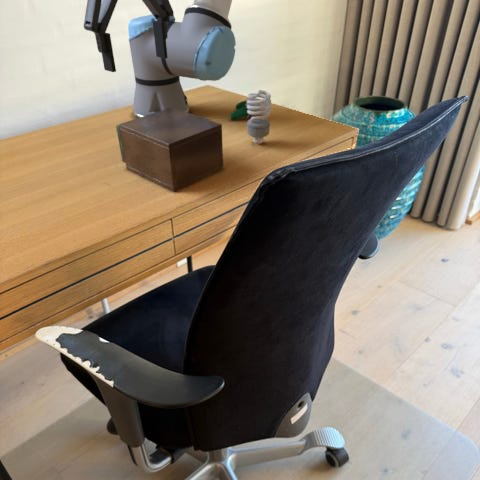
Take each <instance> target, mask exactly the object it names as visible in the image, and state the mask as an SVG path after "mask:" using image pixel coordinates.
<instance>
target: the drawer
mask: <svg viewBox="0 0 480 480" xmlns="http://www.w3.org/2000/svg"><path fill="white" fill-rule="evenodd" d="M115 128H116V129H115V130H116V134H117V139H118V144H119V150H120V156H121V161H122V163H124V164H126V161H125V155H124V150H123V144H122V138H121V133H120V127H119V124H116V125H115Z"/></svg>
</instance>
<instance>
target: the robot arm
mask: <svg viewBox="0 0 480 480" xmlns="http://www.w3.org/2000/svg"><path fill="white" fill-rule="evenodd" d="M118 1H119V0H87V3H86V8H85V14H84V21H83V29H84V30H85V31H89V32H91V33H93V34H94V36H95V41H96V47H97V50H98V52H99V53H101V58H102V62H103V69H104V71H106V72H111V73H115V72H117V69H116V62H115V56H114V51H113V45H112V39H111V33H109V32H107V29H108V28H109V24H110V22H111V19H112V17H113V14H114V11H115V9H116V6H117V4H118ZM232 2H233V0H193V3H192V4H191V5H189V6H187V7H186V8H185V10H184V15H183V17H182V20H181V21H176V17H175V15H174V14H175V13H174V9H173V7H172V5H171V2H170V0H142V3H143V4H144V5H145V7H146V8H147V9H148V10H149V12H150V14H148V15H143V16H138V17H135V18H132V19H130V21H129V22H128V25H127V30H128V31H127V32H128V42H129V48H130V54H131V61H132V67H133V74H134V75H133V76H134V81H135V89H134V95H133V104H132V114H133V118H134V119H137V118H140V117H143V116H146V115H149V114H152V113H155V112H158V111H161V110H164V109H167V108H171V107H173V108H176V109H179V110H182V111H185V112H188V113H190V105H189V102H188V101H189V100H188V99H189V98H188V97H187V95H186V94H185V92H184V90H183V86H182V83H181V79H180V77H182V78H187V79H189V78H190V79H194V80H199V81H203V82H205V81H206V82H207V81H212V82H213V81H214V82H215V81H220V80H221V79H222V78H224V77H226V75H227V74H228V73H229V72H230V69H231V67H232V65H233V63H234V60H235V56H236V48H235V47H236V37H235V33H234V32H233V30H232V28H233V27H232V22H231V21H230V19H229V14H230V10H231V7H232V6H231V5H232Z"/></svg>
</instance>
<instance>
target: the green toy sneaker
mask: <svg viewBox="0 0 480 480" xmlns="http://www.w3.org/2000/svg"><path fill="white" fill-rule="evenodd" d="M247 100H248V99H246V100H243V101H240V102H238V103H237V104H236V105H235V110H233V111H232V112H231V113H230V115H229V117H230V120H231V121H235V120H240V119H243V118H246V119H247V118H249V117H250V114H248V113H247V110H249V109H248V108H247V105H248V103H247Z"/></svg>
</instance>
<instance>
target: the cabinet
mask: <svg viewBox="0 0 480 480" xmlns="http://www.w3.org/2000/svg"><path fill="white" fill-rule="evenodd" d="M118 125H119V127H120V133H121V138H122V144H123V150H124V155H125V161H126V163H125V166H126V170H127V171H129V172H132V173H133V174H136V175H137V176H140V177H142V178H144V179H146V180H148V181H150V182H152V183H154V184H156V185H158V186H161V187H163V188H164V189H166V190H168V191H171V192H172V193H175V192H177V191H180V190H182V189H183V188H186V187H188V186H190V185H192V184H194V183H197V182H199V181H202V180H203V179H207V178H208V177H210V176H213V175H214V174H216V173H219V172H221V171H224V153H223V152H224V150H223V148H224V147H223V124H222V123H219V122H217V121H213V120H211V119H208V118H205V117H202V116H199V115H196V114H193V113H191V112H189V113H188V112H185V111H182V110H179V109H176V108H173V107H171V108H167V109H164V110H161V111H158V112H155V113H152V114H149V115H146V116H143V117H140V118H137V119H136V118H134V119H131V120H128V121H125V122H122V123H119V124H118Z"/></svg>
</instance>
